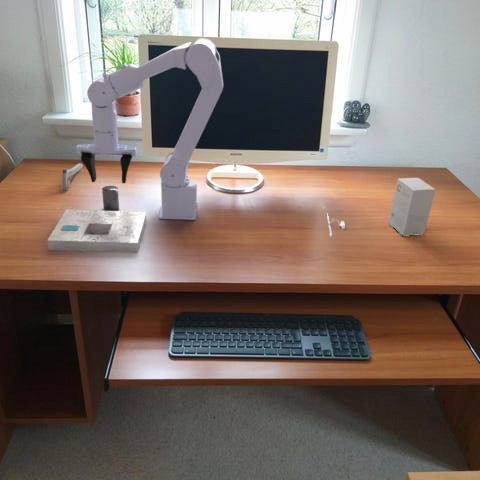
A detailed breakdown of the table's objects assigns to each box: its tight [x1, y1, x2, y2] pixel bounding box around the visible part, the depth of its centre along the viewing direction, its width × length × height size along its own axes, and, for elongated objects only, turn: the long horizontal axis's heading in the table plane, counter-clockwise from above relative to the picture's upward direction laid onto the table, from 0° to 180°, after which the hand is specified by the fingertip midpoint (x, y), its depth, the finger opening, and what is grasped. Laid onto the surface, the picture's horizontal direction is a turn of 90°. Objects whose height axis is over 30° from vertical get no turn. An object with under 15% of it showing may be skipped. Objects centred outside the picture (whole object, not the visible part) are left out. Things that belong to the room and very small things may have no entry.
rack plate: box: [46, 208, 148, 253], centre depth 121 cm, size 20×16×3 cm
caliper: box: [61, 163, 84, 191], centre depth 150 cm, size 20×1×6 cm, turn 3°
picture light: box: [326, 212, 346, 238], centre depth 132 cm, size 14×4×2 cm, turn 176°
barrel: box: [101, 185, 120, 211], centre depth 132 cm, size 4×4×6 cm
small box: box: [387, 177, 436, 237], centre depth 130 cm, size 8×6×13 cm
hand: (109, 181), depth 130 cm, fingers open, 7 cm apart
